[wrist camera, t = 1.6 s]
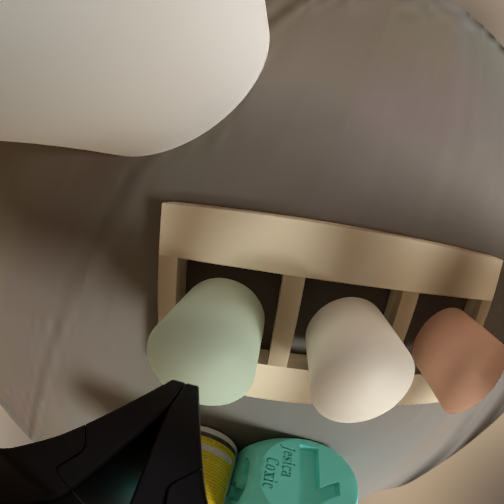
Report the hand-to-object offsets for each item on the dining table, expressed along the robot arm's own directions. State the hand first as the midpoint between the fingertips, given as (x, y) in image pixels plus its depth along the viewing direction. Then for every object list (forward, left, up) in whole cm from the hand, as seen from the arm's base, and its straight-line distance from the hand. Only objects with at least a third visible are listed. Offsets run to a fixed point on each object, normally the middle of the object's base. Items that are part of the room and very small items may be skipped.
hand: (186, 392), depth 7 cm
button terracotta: (-12, 0, -5) cm, 13 cm away
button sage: (0, 0, -6) cm, 6 cm away
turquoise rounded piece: (-6, +14, -8) cm, 17 cm away
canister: (+7, -14, -8) cm, 17 cm away
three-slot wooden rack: (-6, 0, -7) cm, 9 cm away
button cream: (-6, 0, -5) cm, 8 cm away
